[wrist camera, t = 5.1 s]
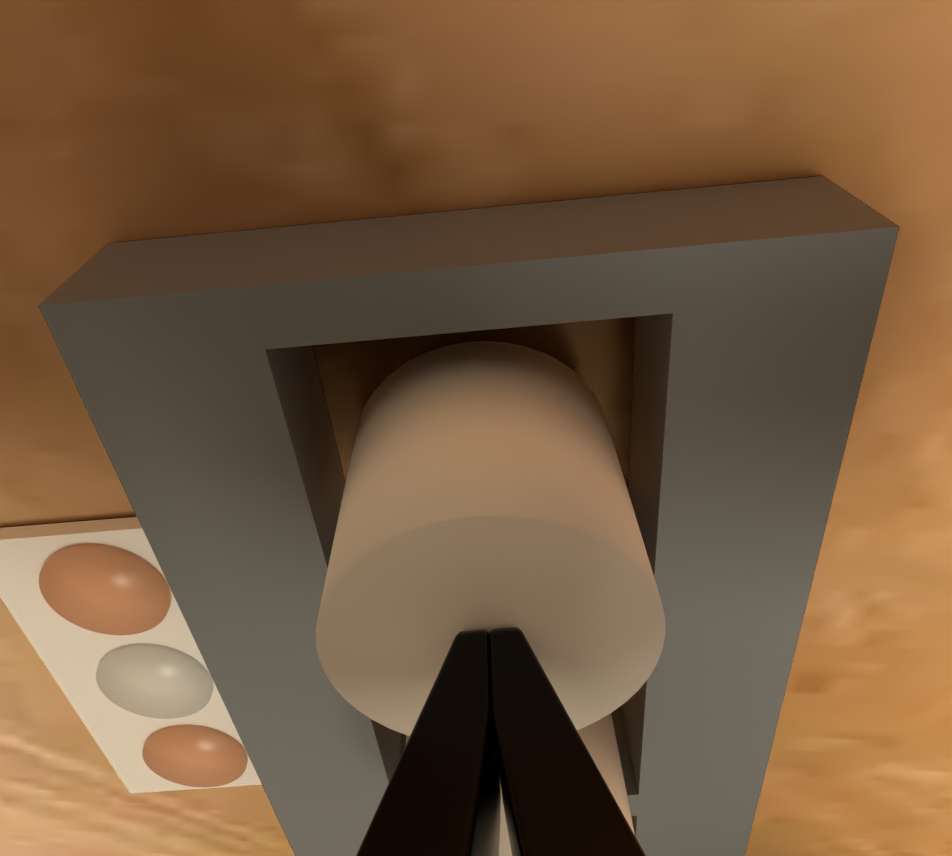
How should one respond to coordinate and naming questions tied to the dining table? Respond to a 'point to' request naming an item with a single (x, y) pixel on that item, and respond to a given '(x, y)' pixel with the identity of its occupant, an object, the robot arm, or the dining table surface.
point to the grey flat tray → (484, 308)
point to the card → (122, 653)
